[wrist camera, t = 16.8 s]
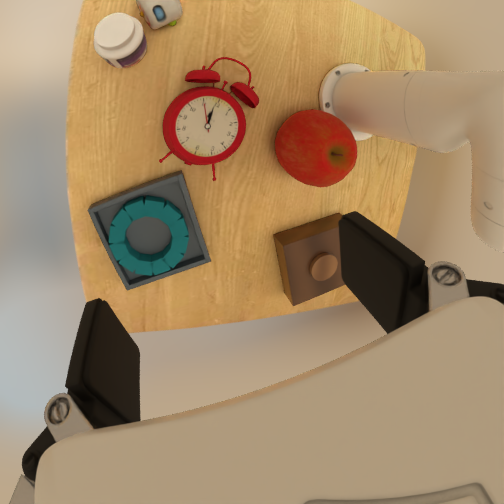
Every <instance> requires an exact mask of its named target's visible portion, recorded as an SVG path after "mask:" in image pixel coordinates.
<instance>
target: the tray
mask: <svg viewBox="0 0 504 504" xmlns="http://www.w3.org/2000/svg"><path fill="white" fill-rule="evenodd" d="M146 195H150V196H156V197H162V198H164V202H165V201H166V200H169V201H170V202H171V203H172V204H174V205H175V206H176V207H177V208H178V209H180V211H181V213H183V216H184V219H185V222H186V225H187V228H188V232H189V241H188V245H187V250H186V253H185V254H184V257H183V258H182V259H181V260H180V261H179V262H178V264H177V265H176V266H175V267H174V268H172V267H170V268H171V270H169V271H166V272H163V273H160V274H157V275H154V273H153V272H152V276H149V275H142V274H135V270H134V271H133V272H131V271H129V270H128V269H126V268H125V267H123V266H122V265H121V264H119V260H118V261H116V259H115V257H114V255H113V253H112V251H111V249H110V247H109V244H110V243H109V231H110V225H111V222H112V220H113V218H114V216H115V215H116V213H117V212H118V211H119V209H120V208H121V207H122V206H123V204H125V205H126V202H127V201H130V200H132V199H135V198H138V197H140V196H144V198H145V199H146ZM88 212H89V214H90V217H91V219H92V221H93V223H94V226H95V228H96V230H97V232H98V234H99V237H100V239H101V241H102V243H103V245H104V247H105V249H106V251H107V253H108V255H109V257H110V259H111V261H112V263H113V265H114V267H115V269H116V271H117V273H118V275H119V276H120V278H121V280H122V282H123V284H124V286H125V287H126V289H127V290H130V289H133V288H136V287H139V286H141V285H144V284H147V283H150V282H153V281H156V280H159V279H162V278H165V277H167V276H170V275H173V274H176V273H179V272H182V271H185V270H188V269H191V268H193V267H196V266H199V265H202V264H205V263H208V262H211V259H210V256H209V253H208V250H207V247H206V245H205V242H204V239H203V236H202V233H201V230H200V227H199V224H198V220H197V217H196V214H195V211H194V208H193V205H192V202H191V199H190V196H189V192H188V189H187V186H186V183H185V180H184V176H183V173H182V170H181V171H178V172H175V173H172V174H169V175H166V176H163V177H161V178H158V179H155V180H152V181H149V182H147V183H144V184H141V185H139V186H136V187H134V188H131V189H128V190H126V191H123V192H121V193H118V194H116V195H113V196H111V197H109V198H106V199H104V200H101V201H99V202H97V203H94V204H92V205H91V206H90V207H89V209H88ZM126 237H127V239H128V242H129V244H130V246H131V247H132V248H133V249H135V250H136V251H138V252H139V253H143V254H150V255H152V254H155V253H158V252H161V251H163V250H164V248H165V247H166V246H167V245H168V244H169V243H170V240H171V232H170V229H169V227H168V226H167V225H166V224H165V223H164V222H162V221H161V220H160V219H159V218H153V217H146V216H145V217H142V218H140V219H137V220H134V221H133V222H132V223H131V224H130V226H129V227H128V228H127V231H126Z"/></svg>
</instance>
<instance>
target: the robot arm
mask: <svg viewBox="0 0 504 504" xmlns="http://www.w3.org/2000/svg"><path fill="white" fill-rule="evenodd" d="M319 103H320V109H321V111H324V112H328V113H330V114H333V115H334V116H336V117H337V118H339V119H340V120H341V121H343V122H344V123H345V124H346V125H347V127H348V128H349V129H350V130H351V132H352V134H353V136H354V138H355V140H356V141H361V140H366V139H368V138H370V137H372V136H373V135H375V136H379V137H384V138H388V139H392V140H395V141H399V142H403V143H407V144H410V145H414V146H417V147H421V148H424V149H427V150H430V151H434V152H439V153H445V152H451V151H454V150H456V149H458V148H460V147H462V146H463V145H465V144H466V143H467V142H468V141H470V144H471V151H472V193H471V221H472V226H473V229H474V231H475V232H476V234H477V236H478V237H479V238H480V239H481V241H483V242H484V243H485V244H487V245H488V246H490V247H491V248H493V249H495V250H497V251H500V252H503V253H504V71H480V72H452V71H451V72H450V71H449V72H448V71H423V70H387V71H371V70H369V69H368V68H366V67H364V66H362V65H359V64H355V63H347V64H342V65H338V66H336V67H334V68H333V69H331V70H330V71H329V72H328V73H327V75H326V76H325V77H324V79H323V82H322V84H321V87H320V92H319ZM325 104H326V106H325ZM338 227H339V241H340V258H341V276H342V280H343V282H344V283H345V284H346V286H347V287H348V288H349V289H350V290H351V291H352V292H353V294H354V295H355V296H356V297H357V298H358V299H359V300H360V302H361V303H362V304H363V305H364V306H365V307H366V309H367V310H368V311H369V312H370V313H371V314H372V316H373V317H374V318H375V319H376V320H377V321H378V323H379V324H380V325H381V326H382V328H383V329H384V330H385V331H386V332H387V335H385V336H383V337H381V338H379V339H377V340H375V341H373V342H371V343H369V344H367V345H365V346H363V347H361V348H359V349H357V350H355V351H353V352H351V353H348V354H346V355H344V356H343V357H340V358H338V359H336V360H333V361H331V362H329V363H327V364H324V365H322V366H320V367H317V368H315V369H312V370H310V371H307V372H305V373H303V374H300V375H297V376H295V377H293V378H290V379H287V380H285V381H282V382H279V383H276V384H274V385H271V386H268V387H265V388H262V389H260V390H257V391H254V392H251V393H248V394H245V395H241V396H238V397H235V398H232V399H229V400H225V401H222V402H219V403H215V404H212V405H208V406H204V407H200V408H197V409H193V410H189V411H185V412H181V413H176V414H172V415H168V416H163V417H158V418H153V419H148V420H143V421H140V383H139V380H140V377H139V376H140V352H139V348H138V346H137V345H136V343H135V342H134V341H133V339H132V338H131V337H130V335H129V334H128V332H127V331H126V330H125V328H124V327H123V325H122V324H121V322H120V321H119V319H118V318H117V316H116V315H115V313H114V312H113V310H112V309H111V307H110V306H109V304H108V303H107V302H106V301H105V300H104V301H102V300H101V299H100V298H98V299H95V300H92V301H89V302H87V303H86V305H85V308H84V312H83V315H82V318H81V321H80V325H79V329H78V332H77V336H76V340H75V344H74V348H73V352H72V356H71V360H70V365H69V369H68V374H67V379H66V384H65V387H66V388H68V393H67V394H66V393H59V394H57V395H55V396H54V397H52V398H51V399H50V401H49V402H48V403H47V405H46V407H45V412H44V419H45V422H46V424H47V427H46V428H45V429H44V431H43V432H42V433H41V434H40V436H38V438H37V439H36V440H35V441H34V442H33V443H32V445H31V446H30V447H29V448H28V449H27V451H26V452H25V454H24V456H23V459H22V468H23V472H24V474H25V476H24V475H21V476H20V478H19V481H18V483H17V486H16V488H15V490H14V493H13V495H12V498H11V501H10V503H9V504H504V285H503V284H499V283H491V282H483V281H475V280H467V279H466V278H465V274H464V272H463V271H462V270H461V268H459V267H458V266H457V265H455V264H452V263H449V262H437V263H434V264H432V265H431V266H430V267H429V268H428V267H426V266H425V261H424V260H423V259H421V258H420V257H419V256H418V255H416V254H415V253H414V252H412V251H411V250H410V249H409V248H407V247H406V246H405V245H403V244H402V243H401V242H399V241H398V240H396V239H395V238H394V237H392V236H391V235H390V234H388V233H387V232H385V231H384V230H383V229H381V228H380V227H378V226H377V225H376V224H374V223H373V222H371V221H370V220H368V219H367V218H365V217H364V216H363V215H361V214H360V213H358V212H356V211H354V212H351V213H348V214H345V215H343V216H342V217H341V220H339V222H338Z"/></svg>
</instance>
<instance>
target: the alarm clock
mask: <svg viewBox="0 0 504 504" xmlns="http://www.w3.org/2000/svg"><path fill="white" fill-rule="evenodd" d="M221 59H228V60H232V61H235V62H237V63H239V64H241V65H242V66H244V67H245V68H246V69H247V71H248V72H249V81H248V86H247V85H246V84H244V83H240V82H236V83H234V84H232V85H231V86H230V89H231V92H233V93H234V94H235V95H236V96H237V97H238V98H239V99H240V100H241V101H242V102H244V103H245V104H246V105H248V106H249V107H251V108H255V107H256V106H257V105H258V104H259V98H258V96H257V94H256V93H255V92H254V91H253V90H252V89H253V88H254V86H252V87H251V88H250V86H249V85H250V82H251V72H250V70H249V68H248V67H247V66H246V65H244V64H243V63H241V62H239V61H237V60H235V59H232V58H227V57H221V58H218V59H216V60H215V61H214V62H213V63H212V64H211V66H210V67H209V68H208V69H206V70H205V66H203V68H202V70H193V71H191V72H189V73H188V74H187V75H186V78H185V81H186V82H194V83H213V87H209V86H202V87H196V88H192V89H189V90H187V91H185V92H183V93H182V94H180V95H179V96H177V97H176V98H175V99H174V100H173V101H172V103H171V104H170V105H169V107H168V109H167V111H166V113H165V116H164V120H163V135H164V139H165V142H166V144H167V146H168V147H169V149H170V150H171V151H170V152H169V153H168V154H167V155H166V156H165V157H164V158H162V159H160V160H159V162H160V163H162V162H163V160H164V159H165V158H166V157H168V156H169V155H170V154H172V153H173V154H174V155H176V156H177V157H178V158H180V159H181V160H183V161H185V164H188V165H191V164H195V165H208V164H212V171H213V181H215V180H216V178H215V165H214V163H217V162H220V161H222V160H224V159H226V158H228V157H229V156H231V155H232V154H233V153H234V152H235V151H236V150H237V149H238V147H239V146H240V144H241V142H242V140H243V138H244V135H245V130H246V120H245V115H244V112H243V110H242V108H241V106H240V104H239V103H238V102H237V101H236V100H235V99H234V98H233V97H232V96H231V95H230V93H231V92H230V93H229V94H228V93H227V92H225V91H223V89H224V87H225V85H226V84H227V83H228V82H227V81H224V82H223V83H224V85H223V87H222V89H219V88H215V87H214V83H216V82H220V75H219V74H218V73H217V72H215V71H212V70H210V69H211V68H212V66H213V65H214V64H215V63H216V62H217V61H218V60H221Z"/></svg>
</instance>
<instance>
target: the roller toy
mask: <svg viewBox="0 0 504 504" xmlns="http://www.w3.org/2000/svg"><path fill="white" fill-rule="evenodd" d="M136 3H137V5H138V8H139V10H140V16H141V17H144V19H145V20H146V22H147V24H148V25H149V26H150V27H151V28H152V29H157V28H160V27H162V26H164V25H166V24H168V25H170V26H174V25H175V24H176V20H177V19H179V18H180V17H181V16H182V13H183V11H182V6H181V3H180V1H179V0H136Z"/></svg>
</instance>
